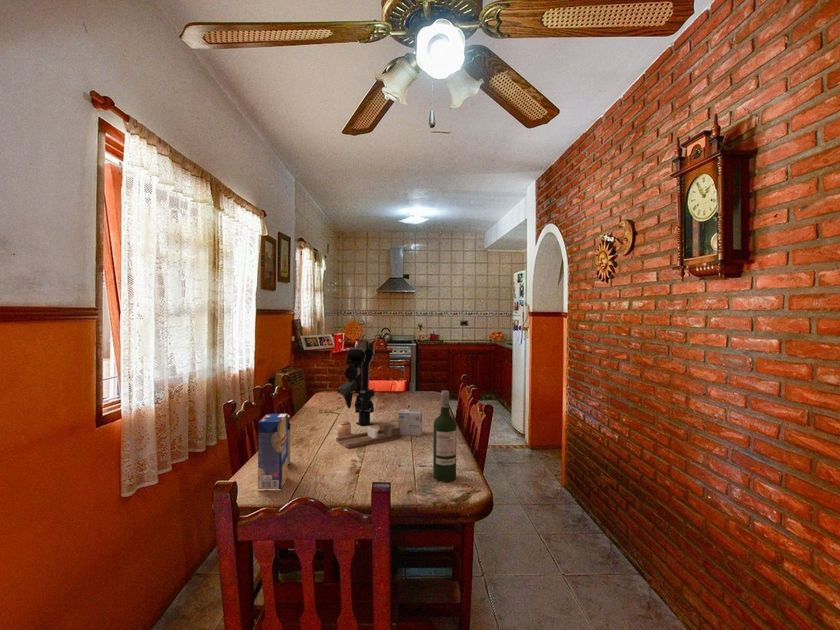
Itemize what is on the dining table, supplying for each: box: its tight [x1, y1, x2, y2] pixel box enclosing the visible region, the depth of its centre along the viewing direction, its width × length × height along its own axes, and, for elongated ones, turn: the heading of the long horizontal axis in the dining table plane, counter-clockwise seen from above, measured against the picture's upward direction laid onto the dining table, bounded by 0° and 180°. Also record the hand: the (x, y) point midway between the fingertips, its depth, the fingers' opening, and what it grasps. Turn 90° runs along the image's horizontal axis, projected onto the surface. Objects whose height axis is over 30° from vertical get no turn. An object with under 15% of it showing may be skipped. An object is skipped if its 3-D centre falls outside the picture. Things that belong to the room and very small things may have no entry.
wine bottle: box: [432, 390, 457, 483], centre depth 145 cm, size 8×8×30 cm
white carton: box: [397, 408, 423, 437], centre depth 199 cm, size 11×7×11 cm, turn 84°
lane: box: [335, 422, 401, 449], centre depth 188 cm, size 11×26×5 cm, turn 125°
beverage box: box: [257, 413, 289, 490], centre depth 139 cm, size 7×11×22 cm, turn 6°
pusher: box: [367, 426, 379, 438], centre depth 189 cm, size 7×1×4 cm, turn 35°
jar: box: [337, 420, 352, 437], centre depth 195 cm, size 6×6×6 cm
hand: (355, 409), depth 194 cm, fingers open, 9 cm apart
